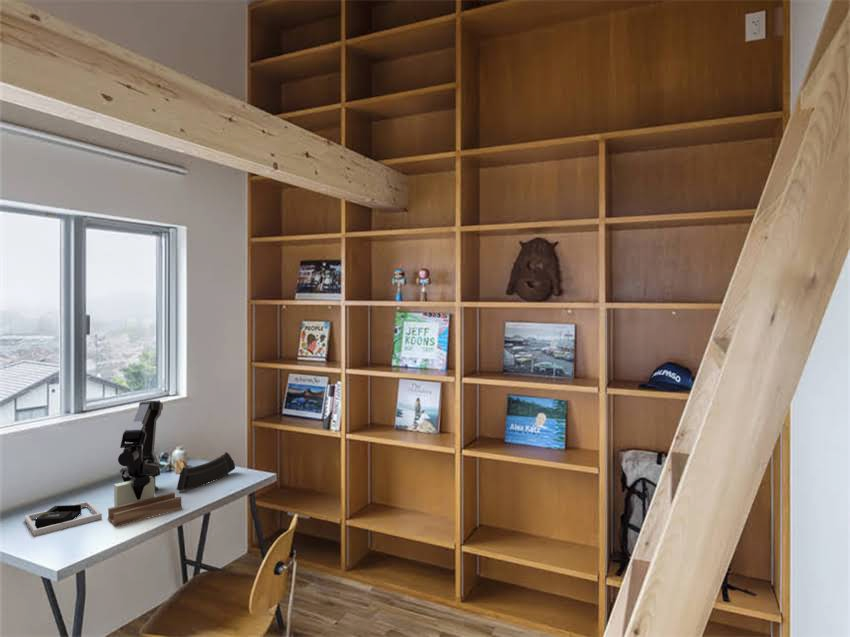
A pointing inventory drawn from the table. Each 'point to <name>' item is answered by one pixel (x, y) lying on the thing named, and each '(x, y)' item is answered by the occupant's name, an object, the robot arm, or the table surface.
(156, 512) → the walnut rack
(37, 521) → the battery charger
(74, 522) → the grey frame
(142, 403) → the robot arm
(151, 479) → the green book
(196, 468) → the magazine
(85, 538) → the table surface
